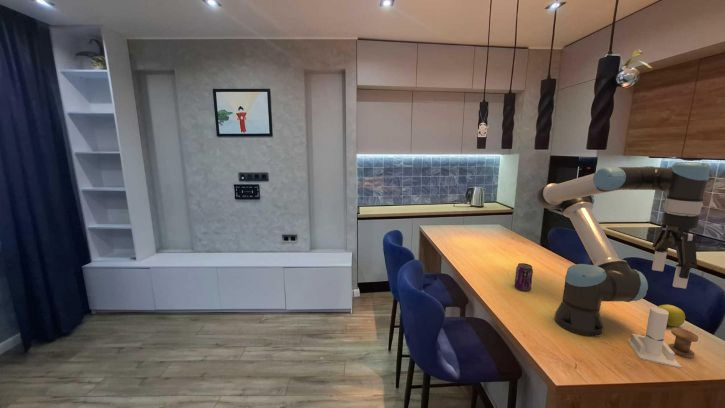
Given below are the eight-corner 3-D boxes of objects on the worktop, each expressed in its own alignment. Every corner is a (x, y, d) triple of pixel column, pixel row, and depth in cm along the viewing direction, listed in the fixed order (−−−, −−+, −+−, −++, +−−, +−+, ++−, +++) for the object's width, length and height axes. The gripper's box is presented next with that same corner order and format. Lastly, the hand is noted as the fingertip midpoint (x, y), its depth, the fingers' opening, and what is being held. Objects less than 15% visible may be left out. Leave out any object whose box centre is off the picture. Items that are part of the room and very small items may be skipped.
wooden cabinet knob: (673, 354, 97) (677, 336, 96) (664, 344, 103) (668, 326, 101) (698, 360, 95) (702, 341, 94) (687, 349, 100) (692, 330, 99)
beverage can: (527, 293, 138) (530, 269, 136) (511, 288, 143) (514, 265, 141) (532, 289, 143) (535, 265, 141) (517, 284, 148) (520, 261, 146)
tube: (642, 344, 101) (649, 305, 98) (660, 349, 99) (667, 309, 96) (643, 351, 98) (650, 311, 95) (661, 357, 95) (669, 315, 92)
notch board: (639, 358, 96) (641, 350, 95) (627, 340, 105) (628, 332, 104) (681, 368, 91) (683, 359, 91) (664, 348, 101) (666, 340, 100)
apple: (690, 332, 110) (695, 312, 108) (662, 329, 111) (666, 310, 110) (672, 320, 117) (676, 302, 116) (646, 318, 119) (650, 299, 117)
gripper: (726, 224, 77) (708, 298, 81) (676, 207, 99) (663, 266, 103) (687, 221, 80) (672, 292, 84) (647, 205, 102) (636, 262, 106)
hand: (667, 278), depth 94 cm, fingers open, 13 cm apart
